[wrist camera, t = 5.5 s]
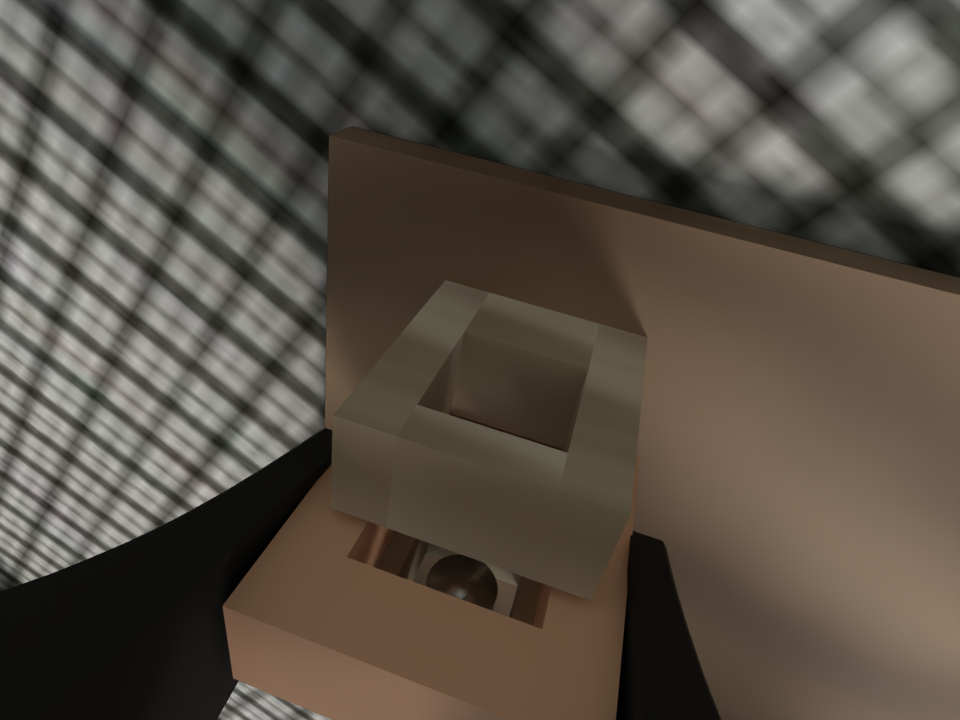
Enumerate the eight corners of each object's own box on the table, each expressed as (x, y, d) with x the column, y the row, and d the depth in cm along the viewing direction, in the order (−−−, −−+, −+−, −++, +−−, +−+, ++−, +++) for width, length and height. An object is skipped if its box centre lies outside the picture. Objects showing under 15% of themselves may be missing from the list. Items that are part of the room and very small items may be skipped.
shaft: (511, 700, 19) (471, 865, 15) (386, 651, 20) (319, 799, 16) (573, 542, 14) (537, 723, 11) (407, 485, 15) (322, 638, 11)
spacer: (612, 519, 13) (573, 819, 9) (386, 444, 14) (233, 678, 9) (639, 456, 12) (611, 760, 7) (393, 379, 13) (222, 605, 8)
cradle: (816, 795, 20) (860, 1056, 15) (334, 610, 22) (238, 780, 18) (1331, 370, 10) (1980, 741, 5) (352, 126, 12) (139, 209, 8)
